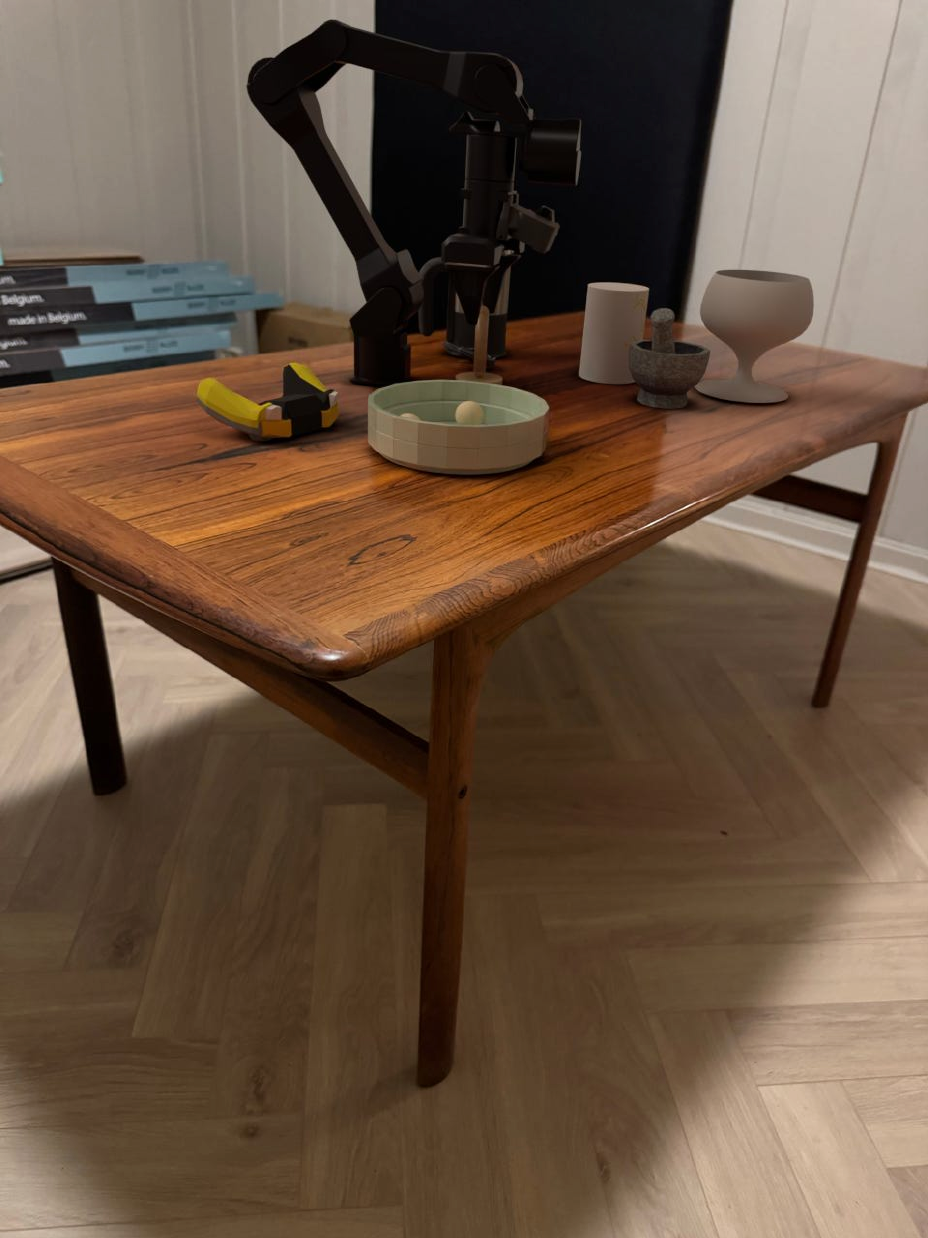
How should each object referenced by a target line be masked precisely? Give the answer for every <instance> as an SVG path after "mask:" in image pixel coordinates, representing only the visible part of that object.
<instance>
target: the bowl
mask: <svg viewBox="0 0 928 1238" xmlns="http://www.w3.org/2000/svg"><path fill="white" fill-rule="evenodd" d="M466 401H473V402H476V403H477V404H479V405H480V407H481V408H482V410H483V421H482V423H481V424H480V425H466V424H458V423H457V421H456V410H457V408H458V407H459V405H460V404H462V403H463V402H466ZM407 413H409V414H413V415H416V416H417V417H418V418H419V419H420V420H421V421H420V420H416V419H411V418H407V417H402V416H401V415H403V414H407ZM549 419H550V406H549V404H548V403H547V401H546V399H544V398H542V397H540V396H538V395H537V394H535V393H533V392H530V391H527V390H523V389H521V388H517V387H513V386H508V385H503V384H502V385H498V384H492V383H483V382H474V381H461V380H456V379H431V380H429V379H427V380H414V381H407V382H406V381H405V382H403V383H398V384H393V385H390V386H382V387H380V388H377V389H376V390H374V391H373V392H371V393H369V394H368V398H367V444H368V445H369V446H370V447H372V449H373V450H374V451H375V452H377V453H379V454H380V455H381V457H383V458H384V459H386V460H388V461H389V462H391V463H394V464H396V465H399V466H401V467H405V468H408V469H413V470H417V471H423V472H429V473H434V474H443V475H444V474H445V475H460V476H463V475H465V476H468V475H469V476H470V475H472V476H473V475H490V474H499V473H504V472H509V471H514V470H517V469H520V468H523V467H525V466H527V465H529V464H531V463H533V461H534V460H535V459H537V458H539V457H542V455H543V453H544V452H545V450H546V448H547V441H548V428H549Z"/></svg>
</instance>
